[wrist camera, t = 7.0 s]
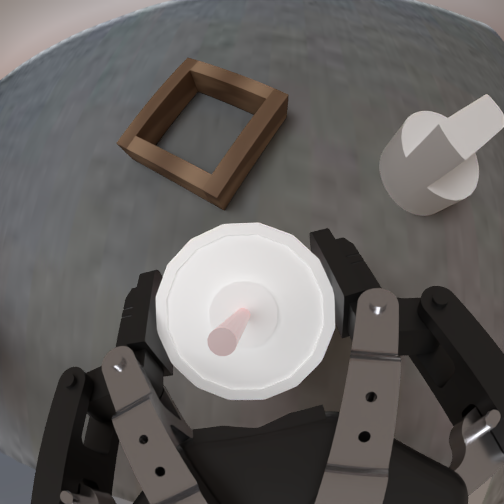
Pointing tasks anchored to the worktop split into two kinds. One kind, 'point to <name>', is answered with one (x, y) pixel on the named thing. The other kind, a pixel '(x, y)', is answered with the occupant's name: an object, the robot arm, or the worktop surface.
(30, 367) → the worktop surface
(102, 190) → the worktop surface
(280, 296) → the beverage cup
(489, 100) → the cylinder with rectangular tab
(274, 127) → the walnut collar
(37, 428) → the worktop surface
